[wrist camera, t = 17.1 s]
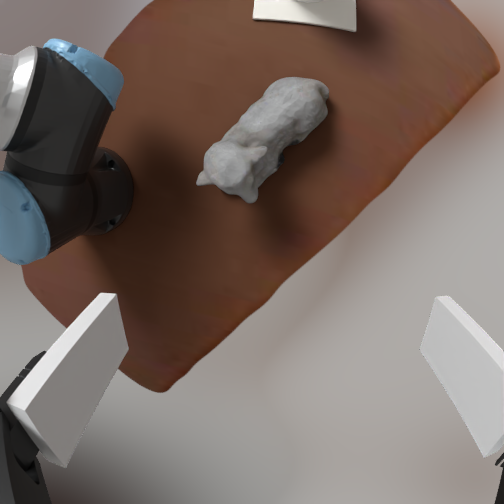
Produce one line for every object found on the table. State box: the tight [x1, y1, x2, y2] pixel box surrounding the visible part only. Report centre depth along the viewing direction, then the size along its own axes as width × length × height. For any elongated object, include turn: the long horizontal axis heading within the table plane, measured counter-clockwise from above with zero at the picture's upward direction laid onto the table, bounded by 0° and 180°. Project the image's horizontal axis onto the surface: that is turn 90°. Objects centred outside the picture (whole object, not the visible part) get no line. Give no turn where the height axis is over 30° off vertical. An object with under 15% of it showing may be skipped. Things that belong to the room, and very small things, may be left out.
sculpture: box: [196, 77, 329, 203], centre depth 36 cm, size 11×21×15 cm, turn 151°
